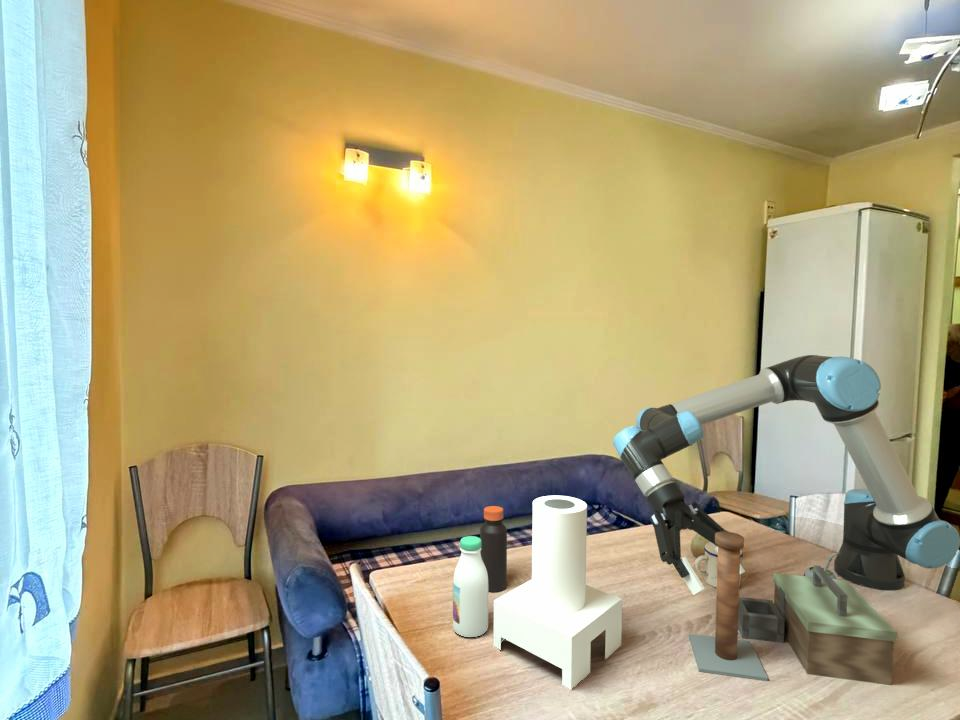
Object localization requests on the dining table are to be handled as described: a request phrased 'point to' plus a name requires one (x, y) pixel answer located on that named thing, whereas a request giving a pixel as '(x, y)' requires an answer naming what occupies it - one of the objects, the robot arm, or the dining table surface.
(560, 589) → the paper towel holder
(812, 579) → the toolbox
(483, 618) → the milk bottle
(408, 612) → the dining table surface
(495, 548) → the vinegar
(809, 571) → the mate gourd
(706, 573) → the teacup with lid
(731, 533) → the wooden pepper mill
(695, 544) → the bread roll
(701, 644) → the rubber mat
